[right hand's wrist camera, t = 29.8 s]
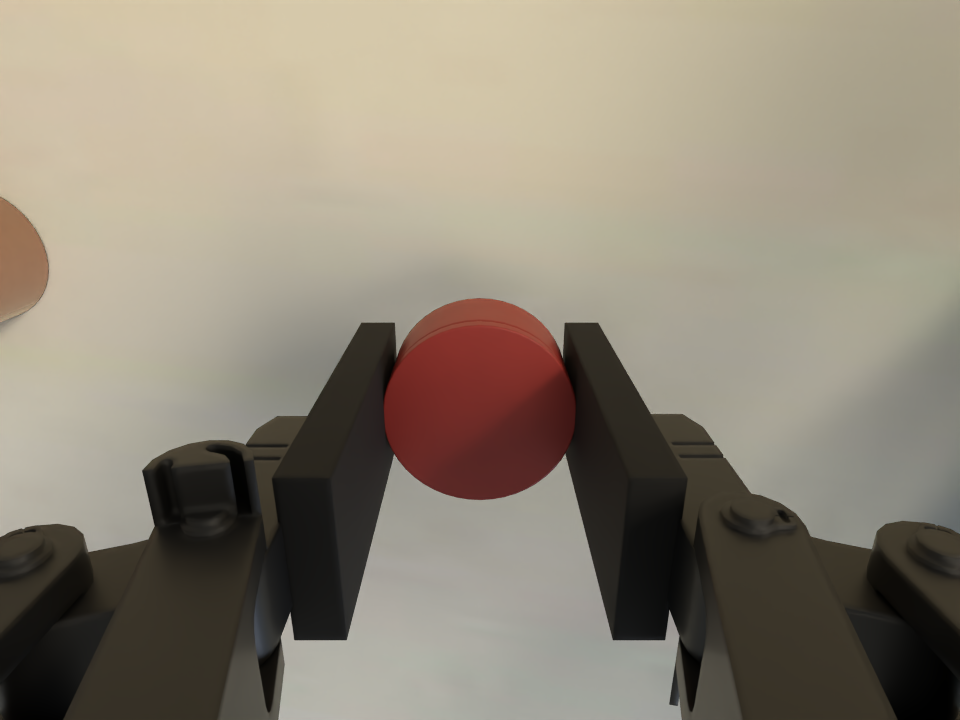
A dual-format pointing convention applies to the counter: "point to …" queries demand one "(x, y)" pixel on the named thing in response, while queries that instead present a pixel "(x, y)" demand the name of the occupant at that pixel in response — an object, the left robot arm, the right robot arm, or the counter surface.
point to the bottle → (19, 263)
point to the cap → (479, 400)
